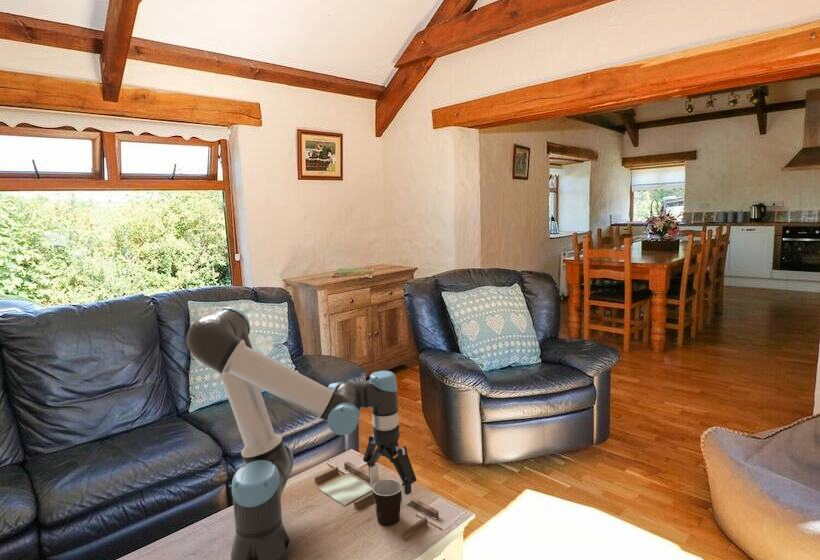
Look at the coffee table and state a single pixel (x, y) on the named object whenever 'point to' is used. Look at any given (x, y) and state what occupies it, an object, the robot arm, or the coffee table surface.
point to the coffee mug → (387, 501)
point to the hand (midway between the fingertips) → (390, 494)
